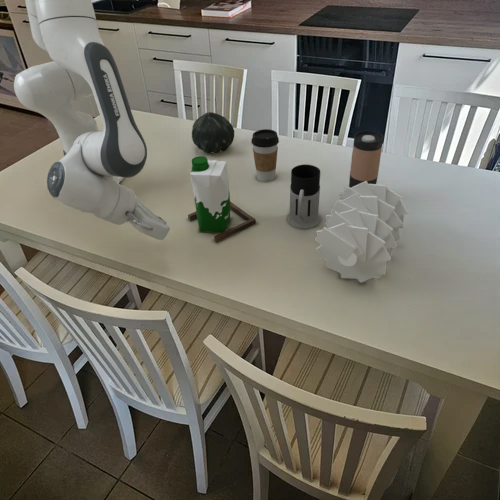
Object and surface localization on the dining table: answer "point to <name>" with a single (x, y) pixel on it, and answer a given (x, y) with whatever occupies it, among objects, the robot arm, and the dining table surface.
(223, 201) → the soya milk
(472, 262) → the dining table surface
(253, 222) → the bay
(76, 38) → the robot arm
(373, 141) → the travel mug
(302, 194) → the glass holder
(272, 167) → the coffee cup
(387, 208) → the spiral staircase
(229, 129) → the squash
